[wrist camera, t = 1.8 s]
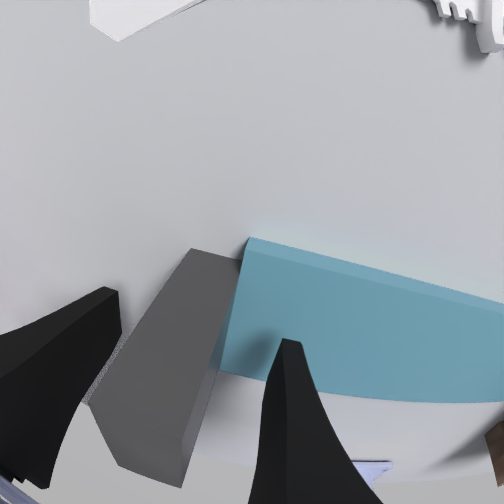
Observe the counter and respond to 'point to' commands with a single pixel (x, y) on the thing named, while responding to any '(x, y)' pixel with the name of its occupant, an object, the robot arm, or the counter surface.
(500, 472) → the low wooden stool
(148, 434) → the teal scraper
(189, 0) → the knife
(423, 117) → the counter surface
